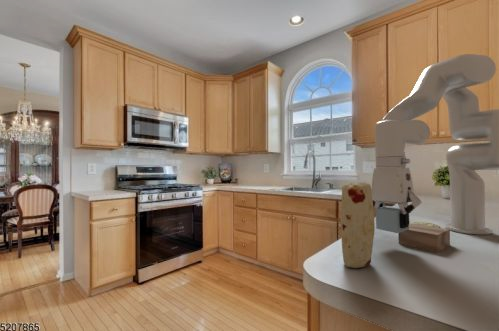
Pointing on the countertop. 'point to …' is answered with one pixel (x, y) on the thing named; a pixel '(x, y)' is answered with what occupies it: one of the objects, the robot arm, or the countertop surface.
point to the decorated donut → (425, 224)
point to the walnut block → (425, 237)
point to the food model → (357, 224)
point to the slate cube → (389, 219)
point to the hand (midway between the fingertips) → (392, 224)
